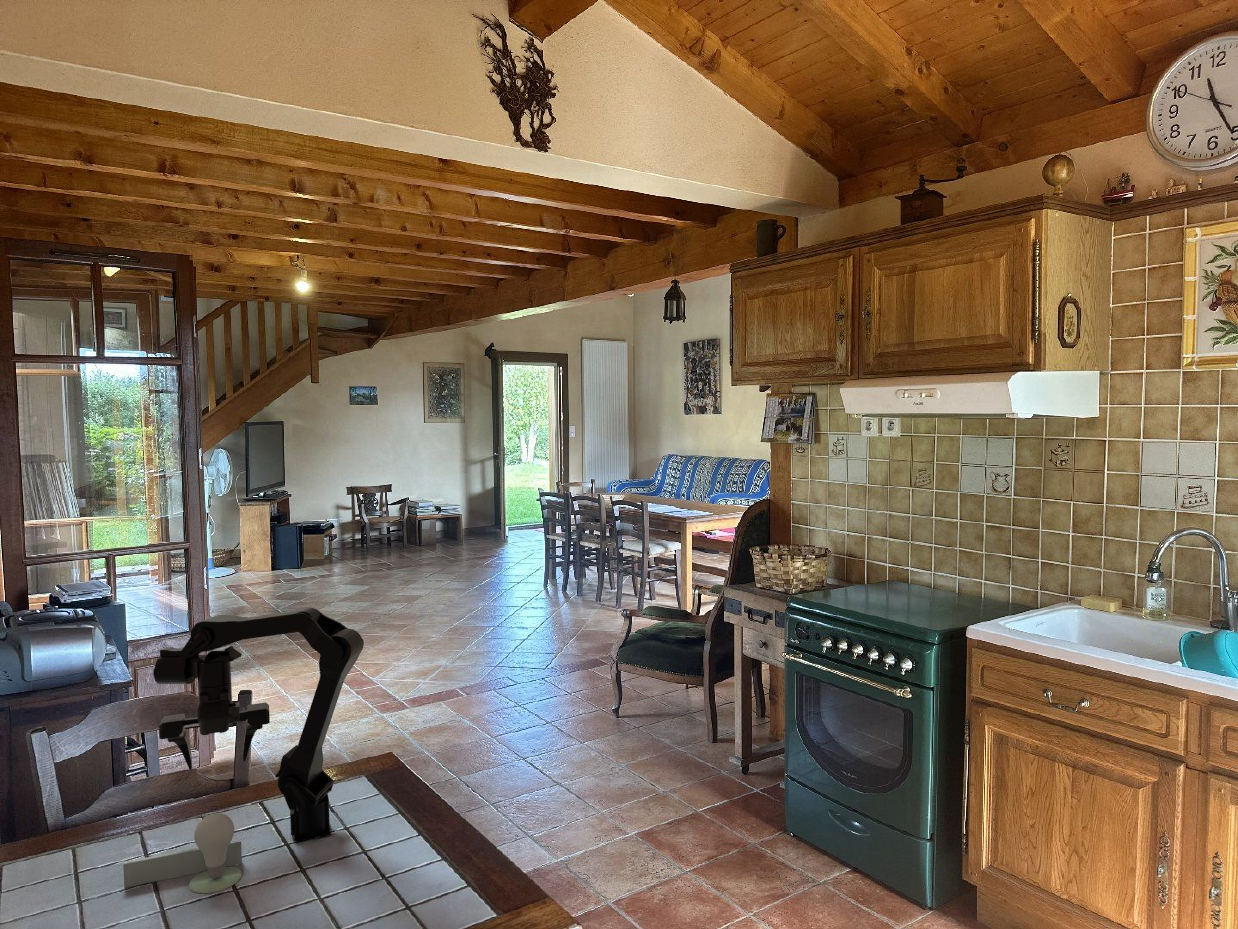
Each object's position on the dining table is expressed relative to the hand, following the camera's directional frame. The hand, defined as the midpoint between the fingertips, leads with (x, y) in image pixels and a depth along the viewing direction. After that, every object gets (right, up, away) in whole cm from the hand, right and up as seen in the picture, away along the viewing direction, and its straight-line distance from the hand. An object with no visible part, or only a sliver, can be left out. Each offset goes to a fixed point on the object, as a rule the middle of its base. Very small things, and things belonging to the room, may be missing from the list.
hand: (218, 764), depth 160 cm
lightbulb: (+8, -13, -17) cm, 23 cm away
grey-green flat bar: (+2, -13, -15) cm, 20 cm away
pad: (+8, -13, -18) cm, 23 cm away
